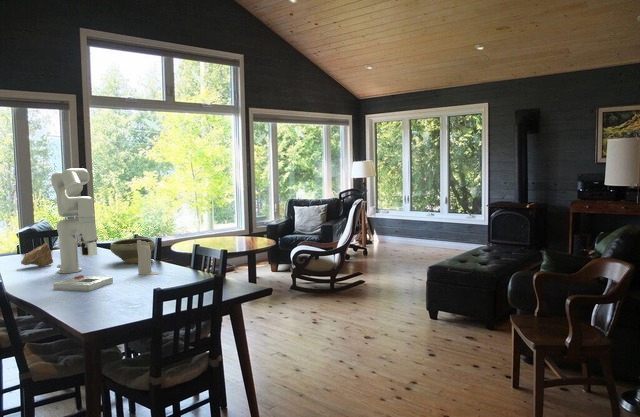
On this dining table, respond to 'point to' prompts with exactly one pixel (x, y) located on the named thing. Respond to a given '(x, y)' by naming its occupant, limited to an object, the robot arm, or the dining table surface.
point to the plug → (91, 249)
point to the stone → (38, 256)
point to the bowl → (129, 249)
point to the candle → (144, 258)
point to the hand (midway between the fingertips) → (88, 253)
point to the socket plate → (83, 283)
